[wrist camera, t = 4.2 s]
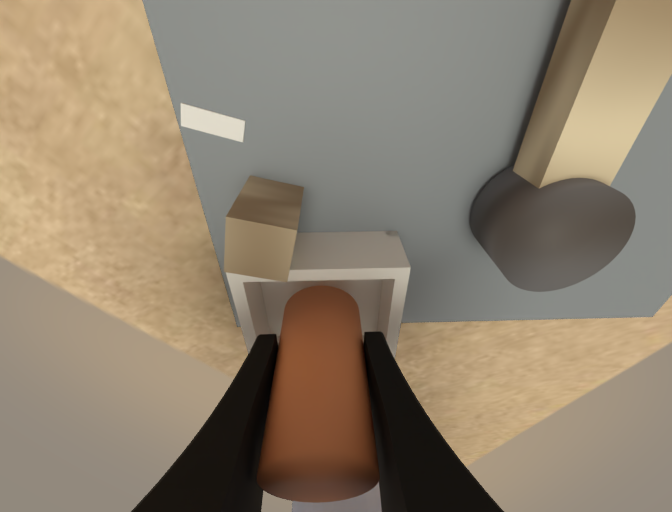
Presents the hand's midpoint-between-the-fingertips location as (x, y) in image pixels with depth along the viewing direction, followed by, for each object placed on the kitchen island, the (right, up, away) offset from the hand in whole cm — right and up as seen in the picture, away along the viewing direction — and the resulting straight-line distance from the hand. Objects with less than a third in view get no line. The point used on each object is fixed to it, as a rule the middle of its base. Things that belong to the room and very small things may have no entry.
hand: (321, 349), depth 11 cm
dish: (0, +2, +3) cm, 3 cm away
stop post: (-2, +6, 0) cm, 6 cm away
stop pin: (0, +1, +1) cm, 2 cm away
